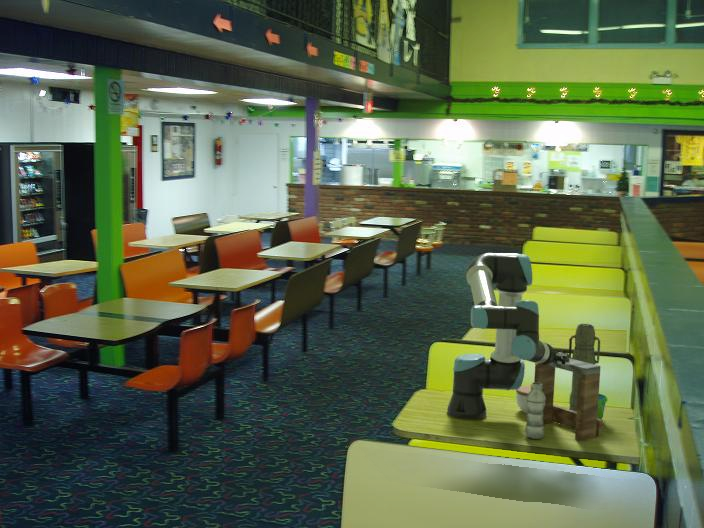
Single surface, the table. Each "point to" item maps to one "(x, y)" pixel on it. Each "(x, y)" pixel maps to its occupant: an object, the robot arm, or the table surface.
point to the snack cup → (601, 405)
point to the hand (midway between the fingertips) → (567, 361)
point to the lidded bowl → (523, 397)
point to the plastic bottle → (535, 412)
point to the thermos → (582, 355)
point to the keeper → (586, 400)
